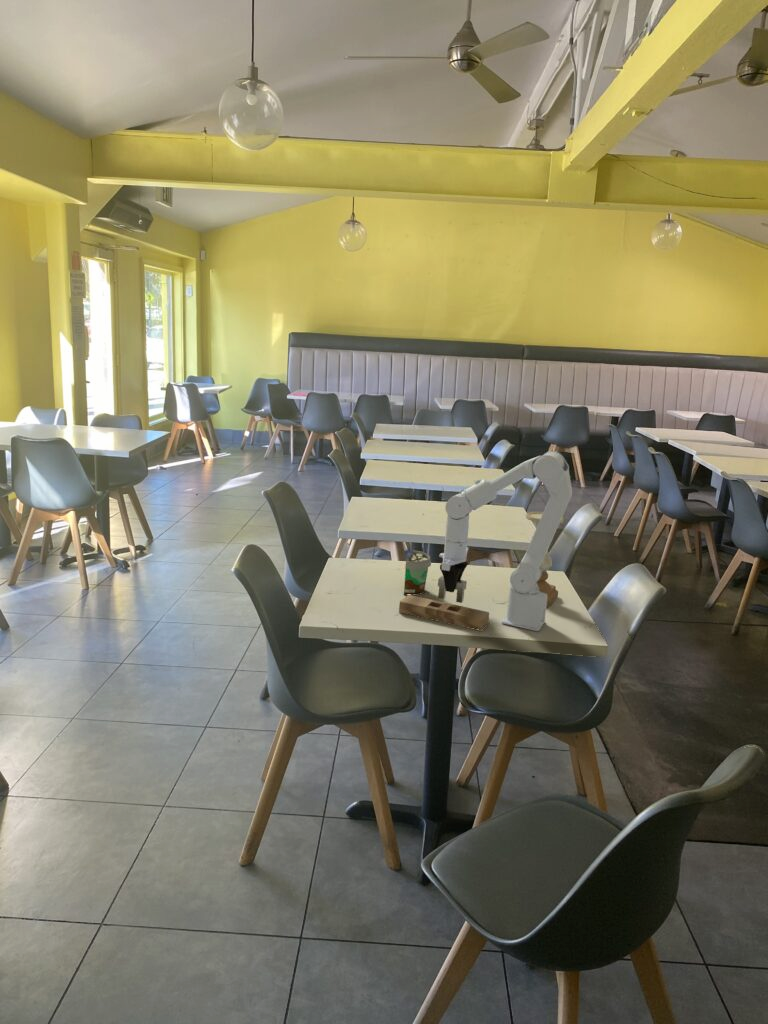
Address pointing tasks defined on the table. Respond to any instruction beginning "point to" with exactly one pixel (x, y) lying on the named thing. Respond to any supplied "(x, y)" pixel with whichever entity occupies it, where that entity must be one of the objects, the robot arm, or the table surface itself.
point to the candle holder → (544, 565)
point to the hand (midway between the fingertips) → (451, 589)
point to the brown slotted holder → (444, 612)
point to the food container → (416, 572)
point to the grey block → (459, 587)
